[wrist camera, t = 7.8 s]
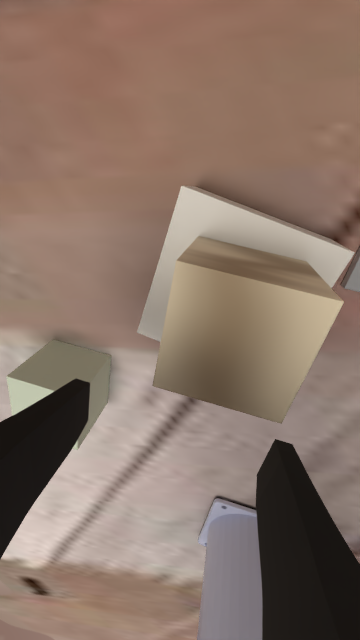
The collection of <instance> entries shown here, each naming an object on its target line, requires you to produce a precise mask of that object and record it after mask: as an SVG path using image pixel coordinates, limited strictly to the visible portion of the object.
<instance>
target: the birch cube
mask: <svg viewBox="0 0 360 640" xmlns="http://www.w3.org/2000/svg"><path fill="white" fill-rule="evenodd" d="M343 303H344V301H343V300H342V299H341V298H340V297H339V296H338V295H337V294H336V293H335V292H334V291H333V289H332V288H331V287H330V286H329V285H328V284H327V283H326V282H325V281H324V280H323V279H322V278H321V276H320V275H319V274H318V273H317V272H316V271H315V270H314V269H313V268H312V267H311V266H310V265H309V263H308V262H307V261H302V260H298V259H294V258H290V257H286V256H281V255H277V254H273V253H269V252H265V251H260V250H256V249H252V248H248V247H243V246H239V245H235V244H231V243H227V242H222V241H218V240H214V239H210V238H205V237H201V236H198V237H197V238H196V239H195V240H194V241H193V243H192V244H191V245H190V246H189V247H188V248H187V249H186V250H185V251H184V252H183V253H182V255H181V256H180V257H179V258H178V259H177V260H176V264H175V269H174V274H173V280H172V285H171V290H170V296H169V301H168V306H167V311H166V317H165V322H164V327H163V333H162V338H161V343H160V349H159V354H158V359H157V364H156V370H155V375H154V380H153V386H154V387H158V388H161V389H164V390H168V391H171V392H175V393H178V394H181V395H185V396H188V397H192V398H195V399H199V400H202V401H205V402H209V403H212V404H216V405H219V406H223V407H226V408H229V409H233V410H236V411H240V412H243V413H246V414H250V415H253V416H257V417H260V418H264V419H267V420H270V421H274V422H277V423H281V424H282V422H283V420H284V418H285V416H286V414H287V412H288V410H289V408H290V406H291V404H292V402H293V400H294V398H295V396H296V394H297V392H298V391H299V389H300V387H301V385H302V383H303V381H304V379H305V377H306V375H307V373H308V371H309V369H310V367H311V365H312V363H313V361H314V359H315V357H316V356H317V354H318V352H319V350H320V348H321V346H322V344H323V342H324V340H325V338H326V336H327V334H328V332H329V330H330V328H331V326H332V324H333V322H334V321H335V319H336V317H337V315H338V313H339V311H340V309H341V307H342V305H343Z"/></svg>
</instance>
